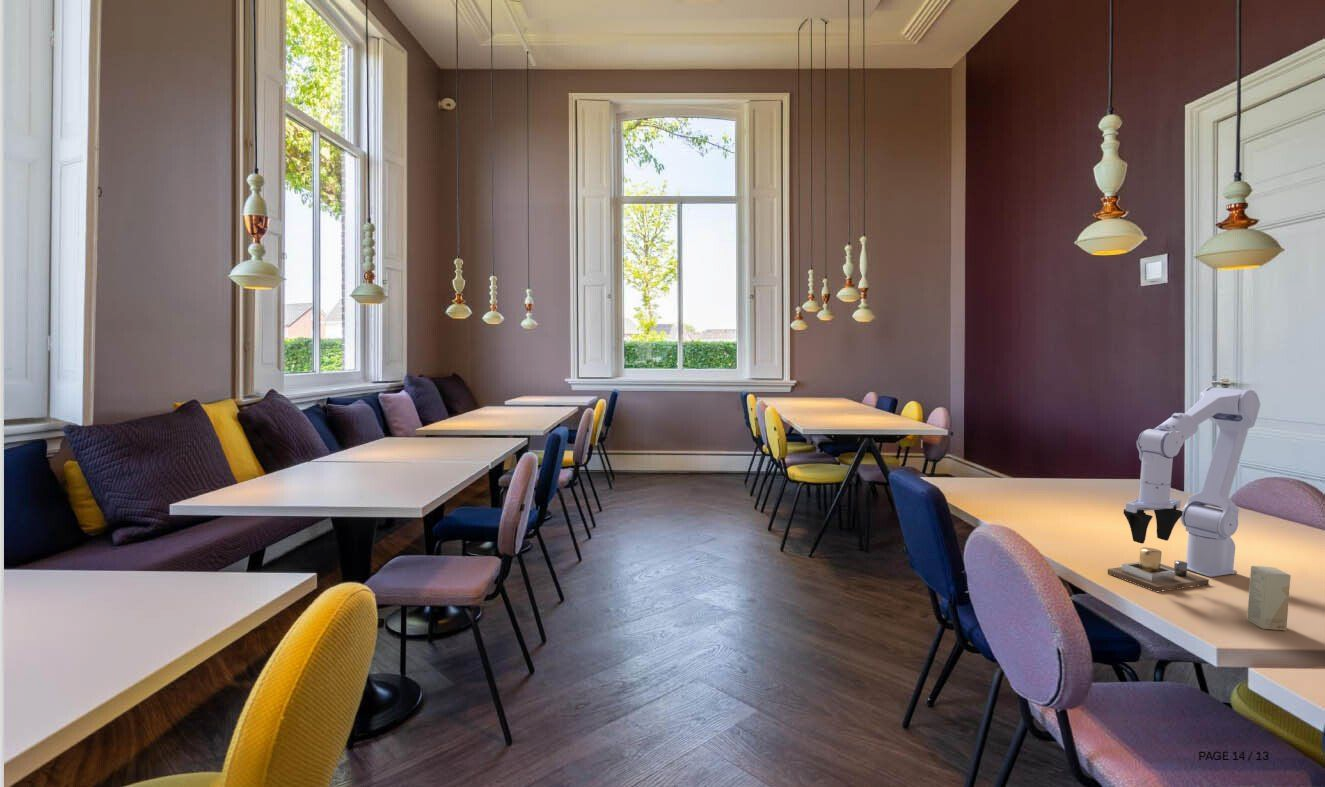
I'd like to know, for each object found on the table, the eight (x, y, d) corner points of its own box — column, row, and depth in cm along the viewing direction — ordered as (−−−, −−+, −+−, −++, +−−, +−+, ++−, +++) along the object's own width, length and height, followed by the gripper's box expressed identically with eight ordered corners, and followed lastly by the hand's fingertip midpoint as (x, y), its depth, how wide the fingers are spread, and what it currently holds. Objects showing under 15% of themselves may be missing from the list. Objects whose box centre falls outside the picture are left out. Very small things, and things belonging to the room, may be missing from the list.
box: (1287, 631, 136) (1292, 575, 135) (1261, 629, 137) (1266, 573, 136) (1269, 620, 141) (1275, 566, 140) (1245, 618, 142) (1250, 564, 141)
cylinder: (1145, 571, 165) (1147, 546, 164) (1163, 577, 161) (1165, 552, 161) (1134, 573, 164) (1136, 548, 163) (1151, 579, 160) (1153, 553, 159)
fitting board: (1156, 567, 172) (1158, 550, 172) (1208, 584, 161) (1209, 566, 160) (1107, 573, 167) (1108, 556, 166) (1157, 592, 156) (1158, 573, 155)
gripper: (1149, 488, 155) (1144, 548, 156) (1196, 484, 159) (1191, 543, 160) (1119, 481, 161) (1114, 539, 162) (1165, 477, 166) (1160, 534, 167)
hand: (1150, 540), depth 162 cm, fingers open, 7 cm apart
